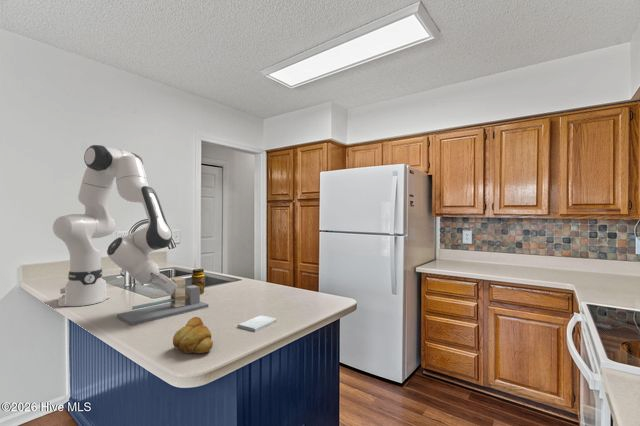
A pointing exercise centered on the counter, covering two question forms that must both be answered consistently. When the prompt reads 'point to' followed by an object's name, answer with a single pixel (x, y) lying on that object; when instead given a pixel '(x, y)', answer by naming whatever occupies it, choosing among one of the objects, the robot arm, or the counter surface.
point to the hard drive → (257, 323)
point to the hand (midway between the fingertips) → (171, 292)
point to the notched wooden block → (178, 292)
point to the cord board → (163, 308)
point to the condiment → (198, 279)
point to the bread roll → (193, 337)
